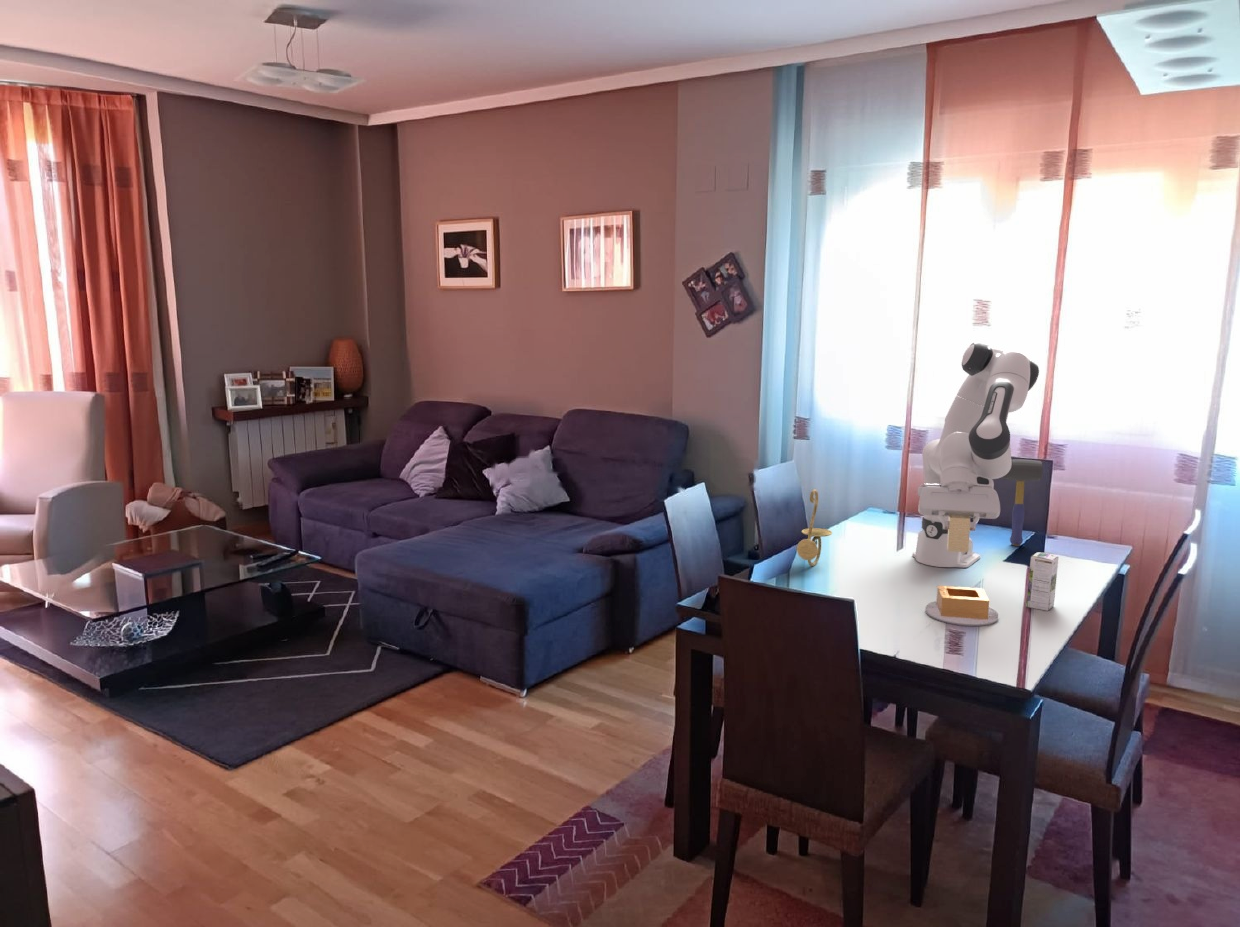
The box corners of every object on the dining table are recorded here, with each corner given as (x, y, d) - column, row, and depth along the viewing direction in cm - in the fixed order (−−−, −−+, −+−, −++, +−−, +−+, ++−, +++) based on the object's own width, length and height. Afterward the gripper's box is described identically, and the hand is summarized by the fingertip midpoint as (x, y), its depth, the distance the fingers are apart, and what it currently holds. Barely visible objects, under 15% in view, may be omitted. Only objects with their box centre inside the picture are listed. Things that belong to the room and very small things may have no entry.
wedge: (946, 547, 234) (948, 514, 232) (967, 549, 232) (969, 515, 231) (947, 551, 230) (949, 517, 229) (968, 552, 229) (970, 518, 227)
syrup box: (1031, 601, 244) (1035, 551, 241) (1054, 606, 240) (1058, 554, 238) (1025, 607, 239) (1029, 555, 237) (1049, 611, 236) (1053, 559, 233)
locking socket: (922, 601, 245) (923, 580, 243) (991, 606, 240) (993, 585, 239) (929, 623, 227) (930, 601, 226) (1003, 629, 223) (1005, 606, 222)
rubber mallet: (1033, 543, 304) (1040, 458, 299) (1037, 549, 297) (1044, 461, 292) (995, 541, 308) (1000, 456, 303) (997, 546, 301) (1004, 460, 296)
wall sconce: (821, 573, 271) (824, 494, 267) (791, 569, 276) (794, 491, 271) (834, 562, 283) (837, 486, 278) (806, 558, 288) (808, 483, 283)
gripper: (918, 476, 238) (917, 520, 230) (999, 480, 232) (1002, 524, 225) (916, 490, 243) (916, 532, 235) (996, 493, 237) (998, 537, 229)
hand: (959, 529), depth 230 cm, fingers closed on wedge, 5 cm apart
